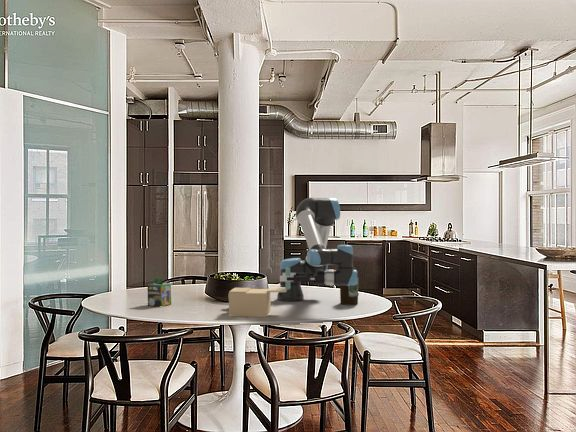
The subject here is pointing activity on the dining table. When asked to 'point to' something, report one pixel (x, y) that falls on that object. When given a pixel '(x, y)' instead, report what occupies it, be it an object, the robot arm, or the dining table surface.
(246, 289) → the carton
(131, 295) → the dining table surface
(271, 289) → the flap
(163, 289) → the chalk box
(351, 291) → the olive oil
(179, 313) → the dining table surface
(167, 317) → the dining table surface
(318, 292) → the dining table surface
